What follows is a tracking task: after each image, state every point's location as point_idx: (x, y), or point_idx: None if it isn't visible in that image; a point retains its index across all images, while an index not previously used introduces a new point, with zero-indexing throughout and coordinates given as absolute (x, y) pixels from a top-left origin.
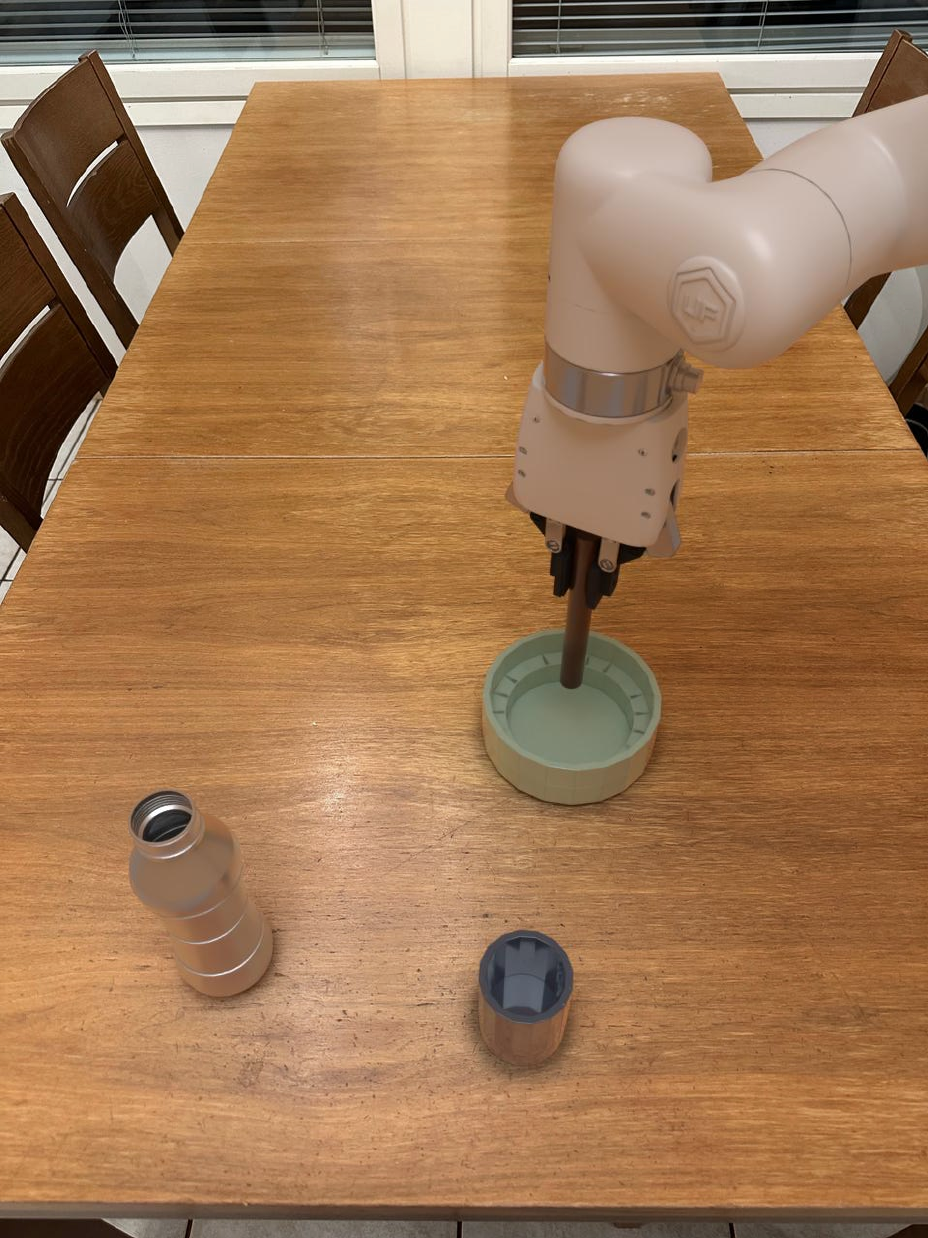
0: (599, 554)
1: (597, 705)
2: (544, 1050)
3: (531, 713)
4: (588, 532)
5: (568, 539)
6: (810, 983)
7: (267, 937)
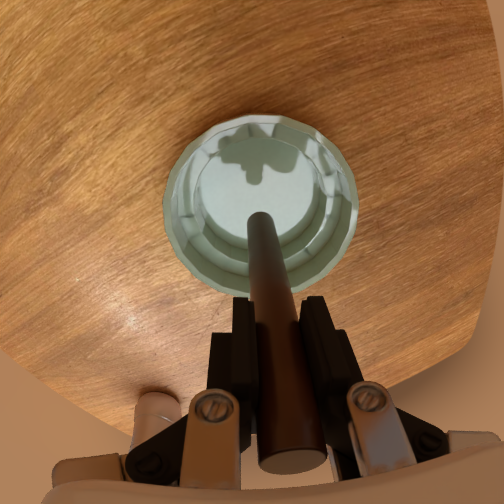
0: (331, 467)
1: (274, 154)
2: None
3: (218, 193)
4: (292, 463)
5: (244, 445)
6: (447, 293)
7: (174, 417)
